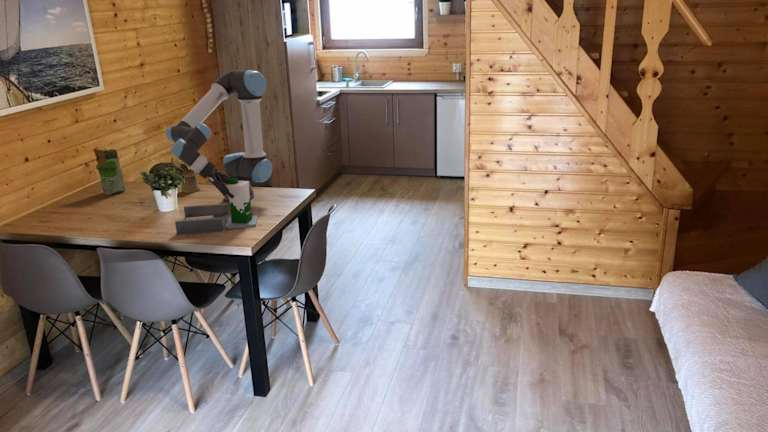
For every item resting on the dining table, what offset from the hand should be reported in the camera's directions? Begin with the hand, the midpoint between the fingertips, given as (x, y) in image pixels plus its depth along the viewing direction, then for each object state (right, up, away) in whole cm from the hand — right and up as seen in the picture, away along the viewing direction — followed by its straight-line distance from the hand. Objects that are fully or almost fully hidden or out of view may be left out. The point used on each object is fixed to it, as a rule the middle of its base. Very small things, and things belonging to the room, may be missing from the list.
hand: (241, 197), depth 286 cm
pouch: (-83, +4, +58) cm, 101 cm away
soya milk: (0, -11, +3) cm, 11 cm away
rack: (-18, -12, +3) cm, 22 cm away
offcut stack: (-17, -14, -1) cm, 22 cm away
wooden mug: (-42, +5, +57) cm, 71 cm away
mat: (0, -12, +4) cm, 12 cm away
